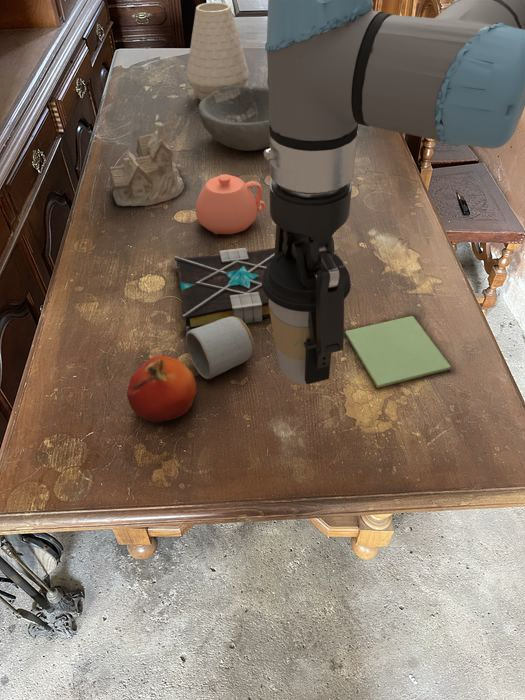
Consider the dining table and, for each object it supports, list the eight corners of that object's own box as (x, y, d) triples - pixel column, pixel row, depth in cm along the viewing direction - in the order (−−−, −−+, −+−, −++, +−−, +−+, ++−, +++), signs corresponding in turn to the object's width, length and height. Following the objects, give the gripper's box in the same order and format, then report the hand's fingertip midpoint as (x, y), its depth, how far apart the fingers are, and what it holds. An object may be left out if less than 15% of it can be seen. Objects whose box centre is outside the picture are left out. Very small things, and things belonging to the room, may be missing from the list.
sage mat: (450, 369, 81) (451, 366, 81) (377, 388, 79) (377, 385, 78) (412, 318, 89) (412, 315, 89) (344, 333, 87) (345, 331, 86)
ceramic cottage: (178, 164, 127) (166, 100, 116) (187, 202, 116) (174, 136, 105) (112, 176, 126) (93, 112, 114) (115, 216, 115) (94, 150, 104)
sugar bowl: (193, 211, 113) (188, 165, 106) (259, 203, 115) (258, 157, 108) (201, 244, 105) (196, 196, 97) (271, 235, 107) (271, 187, 99)
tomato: (201, 382, 80) (196, 344, 74) (195, 433, 74) (188, 396, 68) (139, 381, 80) (129, 343, 75) (127, 432, 74) (115, 395, 68)
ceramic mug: (258, 365, 82) (257, 328, 77) (212, 389, 79) (207, 352, 73) (221, 327, 88) (217, 290, 83) (177, 348, 85) (170, 311, 80)
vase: (192, 114, 148) (182, 18, 131) (186, 91, 159) (176, 0, 143) (255, 108, 150) (253, 13, 133) (244, 85, 162) (240, -4, 145)
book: (291, 257, 101) (292, 234, 98) (314, 316, 90) (315, 293, 86) (176, 271, 99) (172, 248, 95) (183, 334, 87) (179, 311, 84)
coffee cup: (308, 408, 62) (313, 309, 51) (249, 368, 67) (242, 270, 56) (356, 363, 67) (370, 264, 56) (298, 329, 71) (300, 231, 61)
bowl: (192, 162, 128) (188, 119, 121) (210, 122, 144) (207, 82, 137) (289, 166, 126) (290, 123, 119) (296, 125, 142) (297, 85, 135)
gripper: (240, 137, 55) (249, 306, 71) (312, 249, 41) (304, 428, 57) (309, 126, 57) (303, 295, 73) (402, 231, 43) (369, 410, 59)
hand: (303, 353), depth 65 cm, fingers closed on coffee cup, 8 cm apart
